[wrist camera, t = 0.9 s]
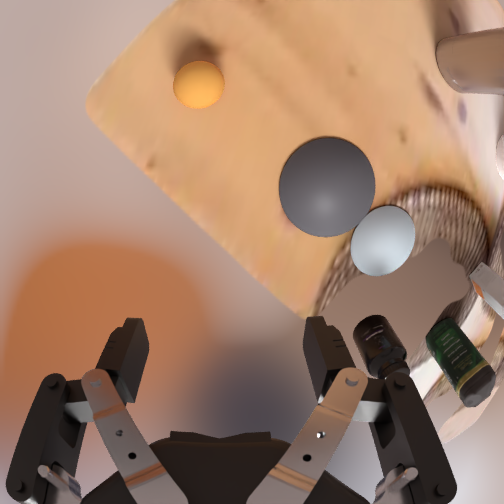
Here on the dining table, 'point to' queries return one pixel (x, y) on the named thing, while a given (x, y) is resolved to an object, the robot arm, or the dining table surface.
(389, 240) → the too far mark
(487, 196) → the dining table surface
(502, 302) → the skincare box
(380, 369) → the supplement bottle
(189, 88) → the ball
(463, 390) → the coffee jar
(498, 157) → the cylinder with rectangular tab
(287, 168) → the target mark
